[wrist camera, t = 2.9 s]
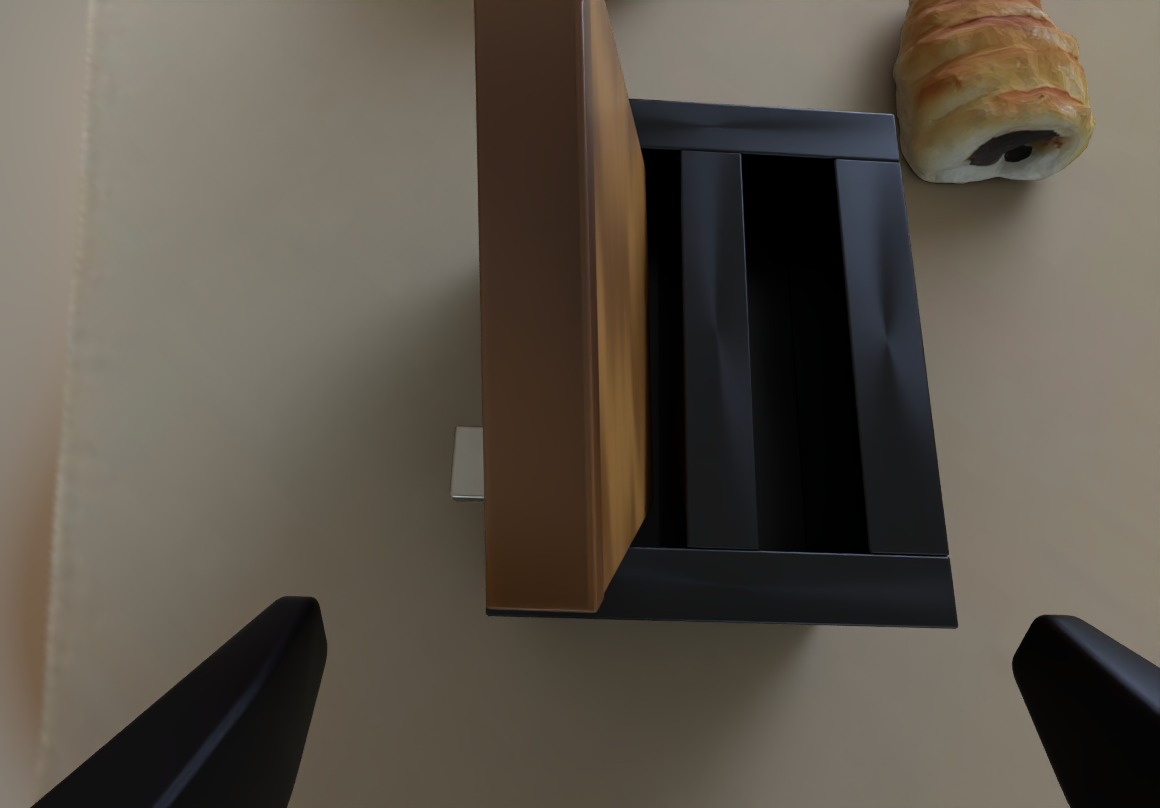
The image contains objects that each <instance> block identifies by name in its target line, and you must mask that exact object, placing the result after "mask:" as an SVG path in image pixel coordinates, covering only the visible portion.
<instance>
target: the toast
mask: <svg viewBox="0 0 1160 808" xmlns="http://www.w3.org/2000/svg"><path fill="white" fill-rule="evenodd" d="M474 21H475V71H476V120H477V169H478V219H479V268H480V318H481V367H482V416H483V466H484V515H485V564H486V605H487V608H489V609H497V610H524V611H551V612H578V613H595V612H597V610H598V608H599V606H600V605H601V603H602V601H603V598H604V592H605V591H606V589H607V587H608V585H609V583H610V581H611V580H612V578H613V576H614V574H615V572H616V570H617V569H618V567H619V565H620V563H621V561H622V559H623V557H624V556H625V554H626V552H627V550H628V548H629V546H630V545H631V543H632V541H633V539H634V537H635V535H636V534H637V532H638V530H639V528H640V526H641V524H642V522H643V521H644V519H645V517H646V515H647V513H648V511H649V510H650V508H651V506H652V504H653V502H654V487H653V446H652V404H651V362H650V320H649V278H648V237H647V195H646V169H645V165H644V161H643V156H642V152H641V148H640V144H639V140H638V136H637V132H636V127H635V123H634V119H633V115H632V111H631V107H630V102H629V98H628V94H627V90H626V86H625V82H624V77H623V73H622V69H621V65H620V61H619V57H618V53H617V48H616V44H615V40H614V36H613V32H612V28H611V23H610V19H609V15H608V11H607V7H606V3H605V0H474Z"/></svg>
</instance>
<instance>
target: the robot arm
mask: <svg viewBox="0 0 1160 808" xmlns="http://www.w3.org/2000/svg"><path fill="white" fill-rule="evenodd" d="M326 658H327V639H326V635H325V630H324V625H323V620H322V615H321V610H320V606H319V603H318V601H317V600H316V599H315V598H313V597H301V596H284V597H281V598H279V599H277V600H276V601H275V602H273V603H272V604H271V605H270V606H269V607H267V608H266V609H265V610H264V611H263V612H261V613H260V614H259V615H258V616H257V617H256V618H254V619H253V620H252V621H251V622H250V623H248V624H247V625H246V626H245V627H244V628H243V629H241V630H240V631H239V632H238V633H237V634H235V635H234V636H233V637H232V638H231V639H229V640H228V641H227V642H226V643H225V644H224V645H222V646H221V647H220V648H219V649H218V650H216V651H215V652H214V653H213V654H212V655H211V656H209V657H208V658H207V659H206V660H205V661H203V662H202V663H201V664H200V665H199V666H198V667H196V668H195V669H194V670H193V671H192V672H190V673H189V674H188V675H187V676H186V677H185V678H183V679H182V680H181V681H180V682H179V683H177V684H176V685H175V686H174V687H173V688H171V689H170V690H169V691H168V692H167V693H166V694H164V695H163V696H162V697H161V698H160V699H158V700H157V701H156V702H155V703H154V704H153V705H151V706H150V707H149V708H148V709H147V710H145V711H144V712H143V713H142V714H141V715H140V716H138V717H137V718H136V719H135V720H134V721H132V722H131V723H130V724H129V725H128V726H126V727H125V728H124V729H123V730H122V731H121V732H119V733H118V734H117V735H116V736H115V737H113V738H112V739H111V740H110V741H109V742H108V743H106V744H105V745H104V746H103V747H102V748H100V749H99V750H98V751H97V752H96V753H95V754H93V755H92V756H91V757H90V758H89V759H87V760H86V761H85V762H84V763H83V764H81V765H80V766H79V767H78V768H77V769H76V770H74V771H73V772H72V773H71V774H70V775H68V776H67V777H66V778H65V779H64V780H63V781H61V782H60V783H59V784H58V785H57V786H55V787H54V788H53V789H52V790H51V791H50V792H48V793H47V794H46V795H45V796H44V797H42V798H41V799H40V800H39V801H38V802H36V803H35V804H34V805H33V806H32V807H31V808H287V806H288V803H289V800H290V797H291V794H292V791H293V787H294V784H295V780H296V777H297V773H298V769H299V765H300V762H301V758H302V754H303V750H304V746H305V742H306V738H307V734H308V730H309V726H310V722H311V719H312V715H313V711H314V707H315V703H316V699H317V695H318V691H319V687H320V683H321V679H322V675H323V672H324V668H325V663H326ZM1012 669H1013V674H1014V678H1015V680H1016V683H1017V685H1018V687H1019V690H1020V692H1021V694H1022V697H1023V699H1024V702H1025V704H1026V706H1027V709H1028V711H1029V713H1030V716H1031V718H1032V720H1033V723H1034V725H1035V728H1036V730H1037V732H1038V735H1039V737H1040V739H1041V742H1042V744H1043V746H1044V749H1045V751H1046V754H1047V756H1048V758H1049V761H1050V763H1051V765H1052V768H1053V770H1054V773H1055V775H1056V777H1057V780H1058V782H1059V784H1060V786H1061V788H1062V791H1063V793H1064V795H1065V797H1066V800H1067V802H1068V804H1069V806H1070V808H1160V668H1159V667H1157V666H1156V665H1154V664H1153V663H1151V662H1149V661H1148V660H1146V659H1145V658H1143V657H1141V656H1140V655H1138V654H1136V653H1135V652H1133V651H1132V650H1130V649H1128V648H1127V647H1125V646H1124V645H1122V644H1120V643H1119V642H1117V641H1115V640H1114V639H1112V638H1111V637H1109V636H1107V635H1106V634H1104V633H1103V632H1101V631H1099V630H1098V629H1096V628H1095V627H1093V626H1091V625H1090V624H1088V623H1086V622H1085V621H1083V620H1081V619H1080V618H1077V617H1074V616H1070V615H1041V616H1039V617H1037V618H1036V619H1035V620H1034V621H1033V622H1032V624H1031V626H1030V628H1029V630H1028V631H1027V633H1026V635H1025V637H1024V638H1023V640H1022V642H1021V644H1020V646H1019V647H1018V649H1017V651H1016V653H1015V654H1014V657H1013V661H1012Z"/></svg>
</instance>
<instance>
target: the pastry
mask: <svg viewBox="0 0 1160 808" xmlns="http://www.w3.org/2000/svg"><path fill="white" fill-rule="evenodd" d="M1078 54H1079V47H1078V43H1077V41H1076V39H1075V38H1074V37H1073V36H1072V35H1069V34H1067V33H1064V32H1062V31H1060V29H1058V28H1057V27H1056V26H1055V25H1054V24H1053V23H1052V21H1051V19H1050V17H1049V16H1047V15H1046V14H1045V13H1044V12H1043V9H1042V6H1041V2H1040V0H909V8H908V10H907V13H906V20H905V22H904V24H903V26H902V28H901V43H900V51H899V54H898V58H897V60H896V63H895V66H894V68H893V79H894V81H895V83H896V84H897V86H896V97H895V100H896V105H897V117H898V118H899V125H900V135H899V137H900V145H901V151H902V153H903V156H904V158H905V159H906V160H907V162H908V163H909V165H910V167H911V168H912V170H913V171H914V172H915V173H916V174H917V175H918V176H919V177H920V178H921V179H922V180H925V181H929V182H936V183H966V182H971V181H981V180H985V179H989V178H993V177H1003V178H1008V179H1014V180H1040V179H1043V178H1046V177H1048V176H1050V175H1053V174H1055V173H1057V172H1059V171H1061V170H1062V169H1064V168H1065V167H1067V166H1068V165H1069V164H1070V163H1072V162H1073V161H1074V160H1075V159H1076V158H1077V157H1078V156H1079V155H1080V154H1081V153H1082V152H1083V151H1084V150H1085V149H1086V148H1087V146H1088V143H1089V140H1090V138H1091V135H1092V132H1093V129H1094V127H1095V124H1096V123H1095V119H1094V117H1093V116H1091V114H1092V110H1091V108H1089V97H1088V89H1087V81H1086V77H1085V73H1084V70H1083V68H1082V66H1081V64H1080V63H1079V55H1078Z"/></svg>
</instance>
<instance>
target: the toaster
mask: <svg viewBox="0 0 1160 808" xmlns="http://www.w3.org/2000/svg"><path fill="white" fill-rule="evenodd" d="M629 102H630V107H631V111H632V115H633V119H634V123H635V127H636V132H637V136H638V140H639V144H640V148H641V152H642V156H643V161H644V165H645V169H646V195H647V237H648V278H649V320H650V362H651V404H652V446H653V487H654V502H653V504H652V506H651V508H650V510H649V511H648V513H647V515H646V517H645V519H644V521H643V522H642V524H641V526H640V528H639V530H638V532H637V534H636V535H635V537H634V539H633V541H632V543H631V545H630V546H629V548H628V550H627V552H626V554H625V556H624V557H623V559H622V561H621V563H620V565H619V567H618V569H617V570H616V572H615V574H614V576H613V578H612V580H611V581H610V583H609V585H608V587H607V589H606V591H605V592H604V598H603V601H602V603H601V605H600V606H599V608H598V610H597V612H595V613H578V612H551V611H524V610H497V609H489V608H487V605H486V615H488V616H503V617H540V618H577V619H614V620H652V621H689V622H726V623H763V624H800V625H837V626H875V627H912V628H949V629H955V628H958V621H957V613H956V605H955V597H954V589H953V581H952V573H951V565H950V559H949V557H947V555H949V550H948V542H947V534H946V526H945V518H944V510H943V501H942V493H941V485H940V477H939V469H938V461H937V453H936V445H935V437H934V429H933V421H932V413H931V405H930V397H929V389H928V381H927V373H926V365H925V357H924V348H923V340H922V332H921V324H920V316H919V308H918V300H917V292H916V284H915V276H914V268H913V260H912V252H911V244H910V236H909V228H908V220H907V212H906V204H905V195H904V187H903V179H902V171H901V164H900V163H899V161H900V156H899V148H898V140H897V132H896V124H895V116H894V115H893V114H881V113H864V112H848V111H831V110H814V109H797V108H780V107H763V106H746V105H729V104H712V103H695V102H678V101H661V100H644V99H629ZM450 497H451V498H452V499H453V500H455V501H461V502H484V466H483V427H480V426H457V427H456V428H455V434H454V446H453V458H452V470H451V482H450Z"/></svg>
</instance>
